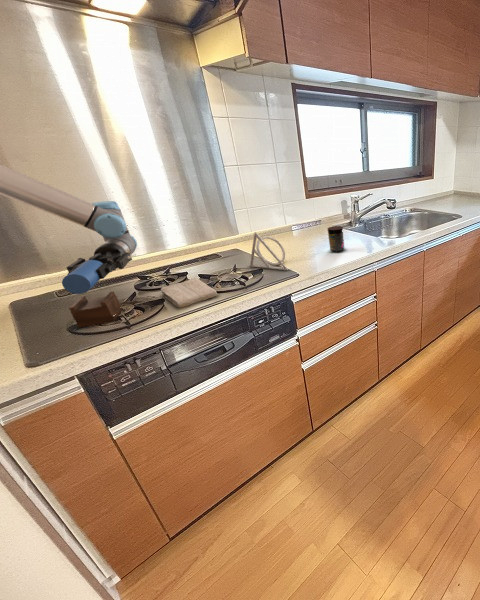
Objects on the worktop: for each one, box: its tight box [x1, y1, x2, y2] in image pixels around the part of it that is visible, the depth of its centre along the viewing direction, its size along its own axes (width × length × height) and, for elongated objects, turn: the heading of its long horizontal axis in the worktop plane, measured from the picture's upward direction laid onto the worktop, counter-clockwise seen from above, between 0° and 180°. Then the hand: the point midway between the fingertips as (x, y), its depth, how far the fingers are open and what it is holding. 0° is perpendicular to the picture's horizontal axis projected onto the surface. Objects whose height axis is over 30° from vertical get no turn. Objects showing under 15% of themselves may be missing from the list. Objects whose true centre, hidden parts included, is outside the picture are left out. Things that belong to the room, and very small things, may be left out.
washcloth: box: [160, 278, 219, 308], centre depth 106 cm, size 12×18×3 cm, turn 50°
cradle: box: [68, 290, 123, 329], centre depth 93 cm, size 8×8×6 cm
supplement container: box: [327, 225, 346, 254], centre depth 146 cm, size 7×7×10 cm
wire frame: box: [249, 232, 289, 271], centre depth 131 cm, size 18×13×16 cm
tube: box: [61, 260, 103, 295], centre depth 91 cm, size 13×6×6 cm, turn 24°
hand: (85, 276), depth 91 cm, fingers closed on tube, 6 cm apart
